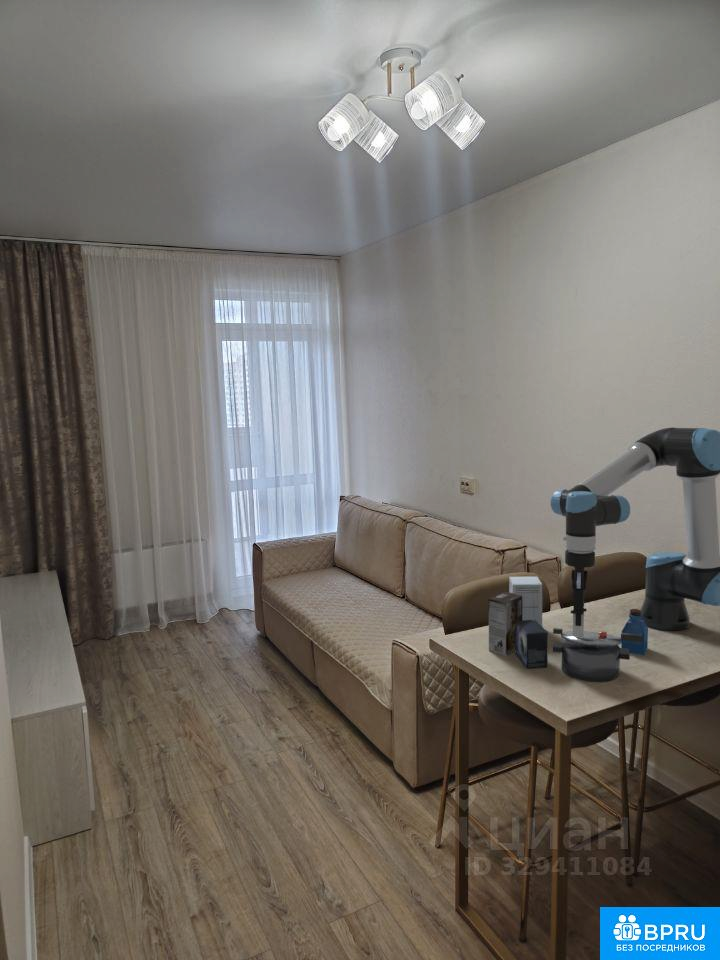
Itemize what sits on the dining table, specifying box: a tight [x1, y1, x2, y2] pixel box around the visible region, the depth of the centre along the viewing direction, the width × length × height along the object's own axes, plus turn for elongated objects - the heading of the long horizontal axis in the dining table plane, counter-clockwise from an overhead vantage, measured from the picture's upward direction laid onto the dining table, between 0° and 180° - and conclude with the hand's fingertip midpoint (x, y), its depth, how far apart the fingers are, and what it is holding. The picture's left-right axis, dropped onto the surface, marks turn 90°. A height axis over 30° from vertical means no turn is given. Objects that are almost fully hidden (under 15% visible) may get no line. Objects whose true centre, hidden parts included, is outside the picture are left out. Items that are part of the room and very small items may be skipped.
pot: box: [551, 639, 631, 683], centre depth 180 cm, size 20×16×7 cm
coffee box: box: [488, 591, 522, 657], centre depth 195 cm, size 9×6×16 cm
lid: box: [552, 627, 642, 646], centre depth 178 cm, size 23×16×2 cm
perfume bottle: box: [620, 608, 649, 657], centre depth 192 cm, size 6×6×12 cm
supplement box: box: [508, 576, 543, 627], centre depth 210 cm, size 10×9×17 cm
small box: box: [514, 620, 549, 670], centre depth 186 cm, size 11×6×10 cm, turn 5°
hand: (578, 635), depth 177 cm, fingers closed
